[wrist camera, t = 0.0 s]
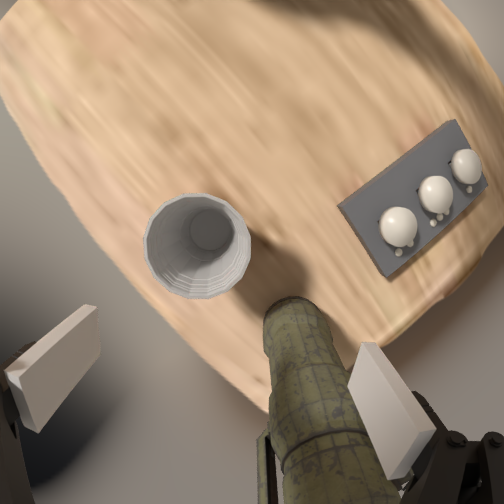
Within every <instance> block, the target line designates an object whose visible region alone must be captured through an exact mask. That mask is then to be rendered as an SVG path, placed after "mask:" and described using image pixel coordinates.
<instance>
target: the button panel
mask: <svg viewBox="0 0 504 504" xmlns="http://www.w3.org/2000/svg"><path fill="white" fill-rule="evenodd" d="M463 149H471V147H470V145H469V143H468V141H467V139H466V137H465V136H464V134H463V132H462V130H461V128H460V126H459V125H458V123H457V121H456V119H453V120H449V121H446V122H445V123H444V124H442V125H441V126H440V127H439V128H437V129H436V130H435V131H433V132H432V133H431V134H430V135H428V136H427V137H426V138H424V139H423V140H422V141H421V142H419V143H418V144H417V145H415V146H414V147H413V148H412V149H410V150H409V151H408V152H406V153H405V154H404V155H403V156H401V157H400V158H399V159H397V160H396V161H395V162H393V163H392V164H391V165H390V166H388V167H387V168H386V169H384V170H383V171H382V172H380V173H379V174H378V175H376V176H375V177H374V178H373V179H371V180H370V181H369V182H367V183H366V184H365V185H363V186H362V187H361V188H359V189H358V190H357V191H356V192H354V193H353V194H352V195H350V196H349V197H348V198H346V199H345V200H344V201H342V202H341V203H340V204H338V205H337V207H338V208H339V210H340V211H341V213H342V214H343V216H344V217H345V219H346V220H347V222H348V223H349V225H350V226H351V228H352V229H353V231H354V232H355V234H356V236H357V237H358V239H359V240H360V242H361V243H362V245H363V246H364V248H365V250H366V251H367V253H368V254H369V256H370V258H371V259H372V261H373V263H374V264H375V266H376V267H377V269H378V271H379V272H380V273H381V274H382V275H383V276H385V277H386V278H387V277H388V276H389V275H391V274H392V273H393V272H394V271H395V270H397V269H398V268H399V267H400V266H402V265H403V264H404V263H405V262H406V261H408V260H409V259H410V258H411V257H412V256H413V255H415V254H416V253H417V252H418V251H419V250H420V249H422V248H423V247H424V246H425V245H426V244H427V243H428V242H430V241H431V240H432V239H433V238H434V237H435V236H436V235H437V234H438V233H440V232H441V231H442V230H443V229H444V228H445V227H446V226H447V225H448V224H449V223H450V222H452V221H453V220H454V219H455V218H456V217H457V216H458V215H459V214H460V213H461V212H462V211H463V210H464V209H465V208H466V207H467V206H468V205H469V204H470V203H471V202H472V201H473V200H474V199H475V198H476V197H477V196H478V195H479V194H480V193H481V192H482V191H483V190H484V189H485V188H486V187H487V186H488V184H487V181H486V179H485V177H484V175H483V172H481V176H480V179H479V180H478V181H477V182H476V183H474V184H463V183H460V182H459V181H458V180H457V179H456V178H455V177H454V175H453V172H452V170H451V168H450V166H449V165H448V163H449V162H450V161H451V160H452V156H453V154H454V153H455V152H456V151H458V150H463ZM471 150H472V149H471ZM428 176H442V177H444V178H446V179H447V180H448V181H449V183H450V184H451V187H452V190H453V201H452V204H451V206H450V208H449V209H448V210H447V211H446V212H444V213H433V212H429V211H427V210H425V209H424V208H423V207H422V205H421V203H420V201H419V197H418V194H417V192H416V190H417V189H418V188H419V186H420V183H421V182H422V180H423V179H424V178H426V177H428ZM394 206H396V207H403V208H407V209H409V210H410V211H411V212H412V213H413V214H414V215H415V217H416V220H417V233H416V235H415V238H414V239H413V240H412V242H411V243H409V244H408V245H406V246H404V247H396V246H394V245H391V244H389V243H387V242H386V241H384V240H383V238H382V237H381V235H380V233H379V224H378V222H377V221H379V220H380V217H381V215H382V214H383V212H384V211H385V210H387V209H388V208H390V207H394Z"/></svg>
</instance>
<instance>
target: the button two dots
mask: <svg viewBox="0 0 504 504" xmlns="http://www.w3.org/2000/svg"><path fill="white" fill-rule="evenodd" d="M379 233H380V235H381V237H382V238H383V240H384V241H386V242H387V243H389V244H391V245H394V246H396V247H404V246H406V245H408V244H409V243H411V242H412V240H413V239H414V238H415V235H416V233H417V220H416V217H415V215H414V214H413V213H412V212H411V211H410V210H409V209H407V208H403V207H396V206H394V207H390V208H388V209H387V210H385V211H384V212H383V214H382V215H381V217H380V220H379Z"/></svg>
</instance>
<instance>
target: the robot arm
mask: <svg viewBox="0 0 504 504" xmlns="http://www.w3.org/2000/svg"><path fill="white" fill-rule="evenodd" d="M100 355H101V349H100V338H99V326H98V311H97V307H95V306H90V305H86V304H84V305H83V306H82V307H81V308H79V309H78V310H77V311H75V312H74V313H73V314H71V315H70V316H69V317H68V318H67V319H65V320H64V321H63V322H61V323H60V324H59V325H58V326H56V327H55V328H54V329H53V330H51V331H50V332H49V333H48V334H47V335H45V336H44V337H43V338H42V339H40V340H39V341H38V342H35V341H34V342H31V343H29V344H27V345H24V346H23V347H22V348H21V349H19V350H18V352H16V353H15V354H13V356H11V357H10V358H9V359H7V360H6V361H5V362H4V363H3V364H1V365H0V504H35V502H34V499H33V495H32V492H31V489H30V485H29V481H28V477H27V473H26V468H25V464H24V459H23V454H22V449H21V444H20V438H19V432H18V426H17V424H16V419H17V418H18V417H19V416H20V417H21V420H22V422H23V424H24V426H25V427H27V428H29V429H31V430H33V431H35V432H37V433H39V432H40V430H41V429H42V428H43V427H44V425H45V424H46V422H47V421H48V420H49V419H50V417H51V416H52V415H53V413H54V412H55V411H56V409H57V408H58V407H59V406H60V404H61V403H62V401H63V400H64V399H65V398H66V396H67V395H68V394H69V393H70V392H71V390H72V389H73V388H74V387H75V385H76V384H77V383H78V381H79V380H80V379H81V378H82V377H83V375H84V374H85V373H86V372H87V370H88V369H89V368H90V367H91V365H92V364H93V363H94V362H95V361H96V359H97V358H98V357H99V356H100ZM347 387H348V389H349V391H350V394H351V396H352V398H353V400H354V403H355V405H356V407H357V409H358V412H359V414H360V416H361V419H362V421H363V423H364V425H365V428H366V430H367V432H368V435H369V437H370V439H371V442H372V444H373V446H374V449H375V451H376V454H377V456H378V458H379V461H380V463H381V465H382V468H383V470H384V473H385V475H386V478H387V480H392V479H398V478H403V477H405V475H406V474H407V473H408V471H409V470H410V469H411V468H412V470H413V472H414V475H413V477H412V478H411V479H410V481H409V482H408V483H407V484H406V486H405V487H404V488H403V489H402V490H403V491H404V490H405V489H406V490H405V492H404V495H403V497H402V499H401V501H400V503H399V504H504V436H503V435H501V434H499V433H497V432H488V433H486V434H485V435H484V437H483V438H482V440H481V441H468V440H467V438H466V437H465V436H464V435H463V434H461V433H459V432H457V431H452V430H451V431H448V430H447V428H446V427H445V426H444V424H443V423H442V421H441V420H440V419H439V417H438V416H437V414H436V413H435V412H433V409H432V407H431V406H429V403H428V402H427V401H426V399H425V398H424V397H423V396H422V395H420V394H419V393H418V392H416V391H412V392H411V391H410V390H409V388H408V387H407V385H406V384H405V383H404V381H403V380H402V378H401V377H400V376H399V374H398V373H397V371H396V370H395V369H394V367H393V366H392V364H391V363H390V362H389V361H388V359H387V358H386V356H385V355H384V354H383V352H382V351H381V349H380V348H379V347H378V345H377V344H376V343H375V342H362V343H361V347H360V350H359V353H358V356H357V359H356V362H355V365H354V368H353V371H352V374H351V377H350V380H349V383H348V386H347ZM481 480H482V481H481Z"/></svg>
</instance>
